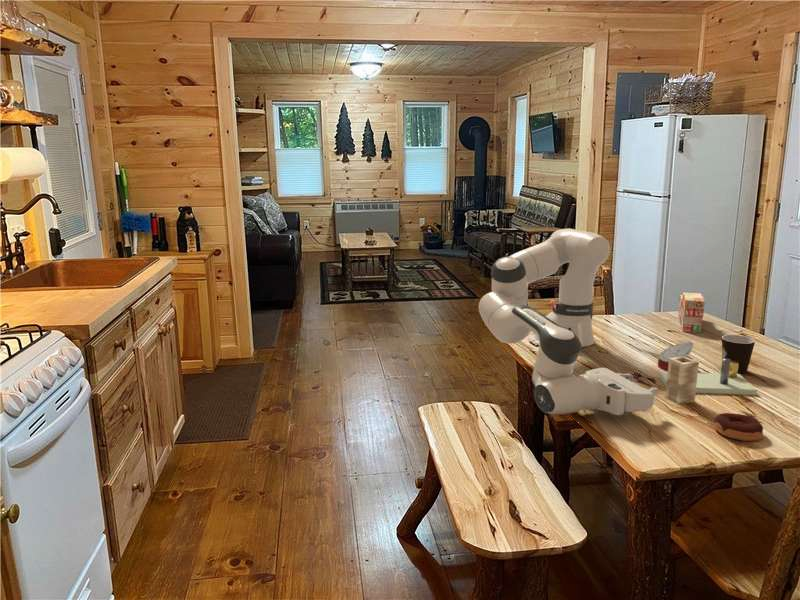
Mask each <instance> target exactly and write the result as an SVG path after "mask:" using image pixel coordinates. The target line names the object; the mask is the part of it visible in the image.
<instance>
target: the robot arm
mask: <svg viewBox="0 0 800 600" xmlns="http://www.w3.org/2000/svg"><path fill="white" fill-rule="evenodd" d="M609 242H610V241H608V239H607V238H605V237H603V236H602V235H600V234H598V233H597V232H591V231H586V230H580V229H574V228H561V229H557V230H556V231H554V232H552V233H551V235H550V236H549V237H548V239H546V240H544V241H541V243H538V244H535V245H533V246H530V247H527V248H525V249H522V250H519V251H517V252H515V253H513V254H511V255H509V256H503V257H501V258H498V259H497V260H496V261H494V263H493V264H492V267H491V272H490V276H491V291H490V292H488V293H486V294H484V295H483V296H482V297H481V298H480V299H479V303H478V312H479V315H480V317H481V319H482V320H483V322H484V324H485V326H486V327H487V328H488V330H489V331H490V333H491V334H492V335H493V336H494V337H495V338H496V339H497V340H498V341H499V342H501V343H503V344H507V345H509V344H510V345H511V344H512V345H513V344H517V343H519V342H522V341H523V340H524V339H526V338H527V337H529V340H530V342H532V343H533V344H536V345H539V346H538V350H537V355H536V359H535V363H534V364H533V365H534V366H533V369H532V370H533V371H532V375H531V382H532V383H533V384H532V385H533V386H534V390H533V399H534V401H535V404H536V405H537V407H538V408H539V410H540V411H542V412H543V413H545V414H550V415H564V414H565V415H566V414H567V415H568V414H572V413H573V414H574V413H577V412H579V411H582V410H585V411H586V410H587V411H592V410H593V411H594V410H597V411H603V412H607V413H610V414H612V415H615V416H621V415H624V413H625V412H627V413H634V412H635V413H636V412H641V411H646V410H649V409H651V408H653V406H654V402H655V396H658V395H659V391H660V390H659V389H660V388H658V387H656V386H649V387H648V388H644V387H642V386H641V385H639V384H638V383H635V382H634V381H635V379H634V377H635V375H633V374H631V373H619V372H615V371H613V370H611V369H609V368H607V367H598V368H597V367H596V368H593V369H589V370H587V371H585V373H583V374H579V375H575V374H574V368H575V366H576V365H575V364H576V362H577V359H578V358H579V354H580V352H581V349H583V348H585V346H586V347H588V346H589V347H590V346H592V345H594V344H595V339H594V338H595V337H594V333H593V321H592V320H593V316H594V303H593V294H594V283H595V279H596V275H597V273H598V271H599V269H600V267H601V265H603V264H604V263H605V262H606V261H607V260H608V259H609V256H610V253H611V246H610V245H611V244H610V243H609ZM567 263H568V266H567V267H568V268H567V270H566V272H565V274H564V275H562V276H561V278H560V279H559V287H558V288H559V292H558V300H555V299H552V300H551V301H550V306H551V309H552V311H551V312H549V313H548V314H546V315H544V314H543V313H542V312H540V311H538V310H537V309H536V308H533V307H532V306H529V305H528V298H529V297H528V296H529V289H528V284H531V283H533V282H537V281H539V280H541V279H543V278H547V277H549V276H551V275H554V274H555V273H557V272H558V270H559V267H561V266H563V265H564V264H567ZM529 340H528V341H529ZM530 342H529V343H530ZM533 344H532V345H533ZM582 347H583V348H582Z"/></svg>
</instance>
